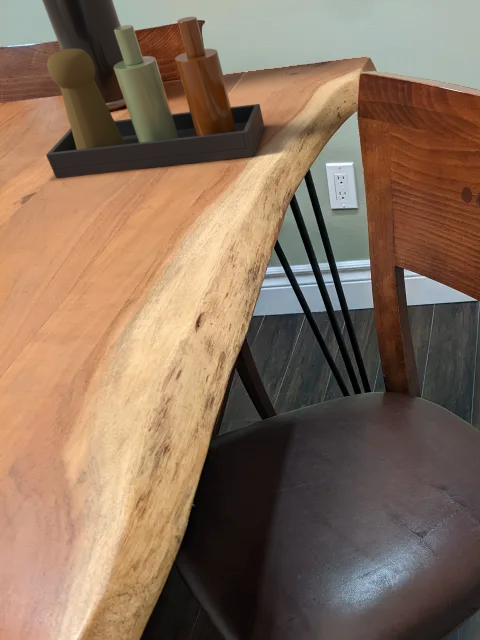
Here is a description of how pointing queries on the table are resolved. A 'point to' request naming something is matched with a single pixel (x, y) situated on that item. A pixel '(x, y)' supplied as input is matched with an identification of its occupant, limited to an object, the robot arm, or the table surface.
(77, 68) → the olive peg figure
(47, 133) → the table surface
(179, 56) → the amber bottle
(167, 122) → the sage bottle
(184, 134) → the tray
